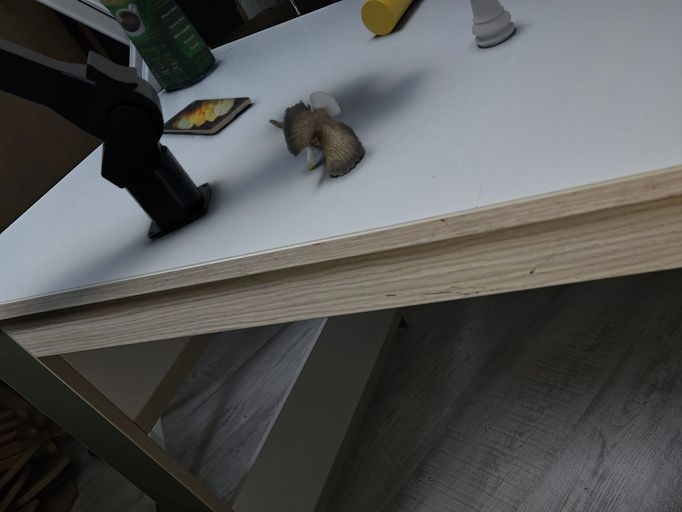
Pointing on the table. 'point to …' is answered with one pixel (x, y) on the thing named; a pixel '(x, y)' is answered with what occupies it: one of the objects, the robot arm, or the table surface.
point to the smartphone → (206, 115)
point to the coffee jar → (164, 40)
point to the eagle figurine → (320, 133)
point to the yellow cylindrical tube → (383, 14)
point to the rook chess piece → (490, 22)
